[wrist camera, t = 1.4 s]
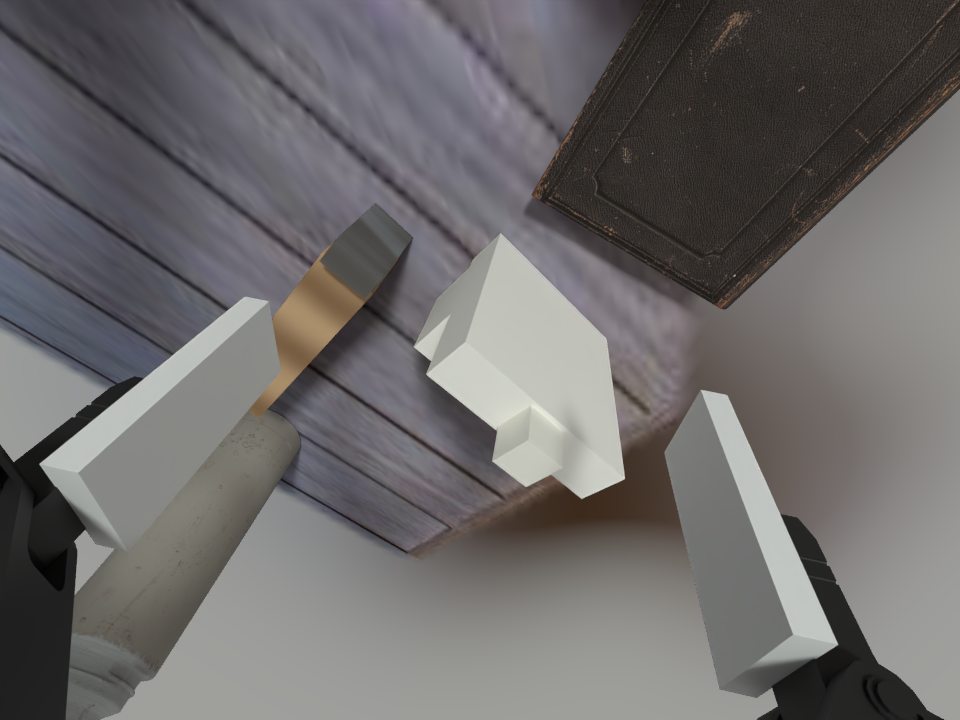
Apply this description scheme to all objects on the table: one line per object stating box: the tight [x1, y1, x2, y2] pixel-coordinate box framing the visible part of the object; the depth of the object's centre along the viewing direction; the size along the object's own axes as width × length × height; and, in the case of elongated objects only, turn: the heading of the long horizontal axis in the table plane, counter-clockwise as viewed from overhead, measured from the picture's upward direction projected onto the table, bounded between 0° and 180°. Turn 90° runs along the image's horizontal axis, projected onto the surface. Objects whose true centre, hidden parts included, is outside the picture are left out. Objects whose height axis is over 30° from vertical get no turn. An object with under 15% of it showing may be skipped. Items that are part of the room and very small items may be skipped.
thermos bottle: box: [66, 409, 301, 720], centre depth 38 cm, size 8×8×28 cm
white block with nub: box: [414, 233, 625, 498], centre depth 29 cm, size 12×8×16 cm, turn 47°
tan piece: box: [248, 203, 413, 418], centre depth 35 cm, size 20×4×7 cm, turn 137°
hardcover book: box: [532, 0, 960, 309], centre depth 24 cm, size 16×23×2 cm
